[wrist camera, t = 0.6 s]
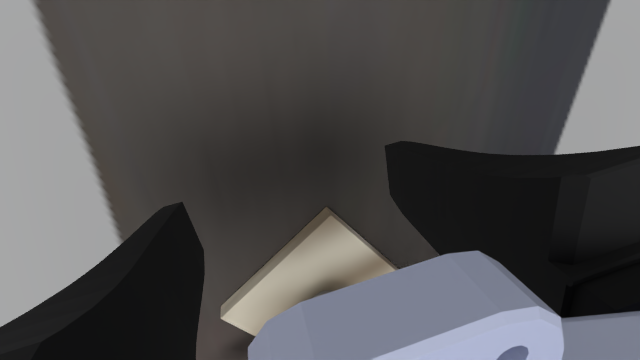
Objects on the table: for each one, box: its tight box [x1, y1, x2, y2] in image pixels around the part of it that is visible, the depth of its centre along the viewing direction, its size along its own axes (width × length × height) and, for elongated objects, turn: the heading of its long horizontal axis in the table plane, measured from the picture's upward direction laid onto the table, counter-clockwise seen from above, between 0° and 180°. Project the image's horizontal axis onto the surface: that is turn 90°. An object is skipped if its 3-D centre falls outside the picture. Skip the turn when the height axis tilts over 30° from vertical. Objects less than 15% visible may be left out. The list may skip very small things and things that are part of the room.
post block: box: [221, 207, 399, 336], centre depth 25 cm, size 11×11×4 cm
